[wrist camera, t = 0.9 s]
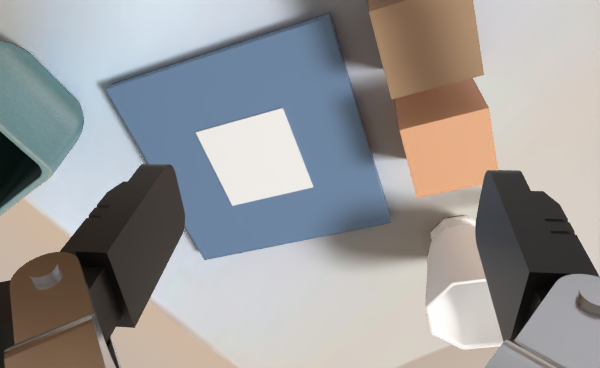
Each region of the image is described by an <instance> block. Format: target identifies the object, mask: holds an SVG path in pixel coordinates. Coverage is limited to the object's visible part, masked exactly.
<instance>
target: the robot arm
mask: <svg viewBox="0 0 600 368" xmlns="http://www.w3.org/2000/svg"><path fill="white" fill-rule="evenodd" d="M184 226H185V212H184V207H183V203H182V199H181V194H180V190H179V186H178V182H177V177H176V173H175V170H174V168H173V166H172V165H170V164H142V165H141V166H140V167H139V168H138V169H137V170H136V172H135V173H134V174H133V176H132V177H131V178H130V180H129V181H128V182H122V183H121V184H119V185H118V186H116V187H115V188H113V189H112V190H110V191H109V192H107V193H106V195H105V196H104V197H103V198H102V200H101V201H100V202H99V203H98V205H97V208H94V210H93V211H92V212H91V213H90V215H89V218H86V220H85V221H84V222H83V223H82V225H81V226H80V227H79V228H78V230H77V231H76V232H75V233H74V235H73V236H72V237H71V238H70V240H69V241H68V242H67V243H66V245H65V246H64V247H63V248H62V249H61V251H60V252H54V253H48V254H45V255H42V256H39V257H37V258H35V259H33V260H31V261H29V262H27V263H26V264H25V265H23V266H22V267H21V268H19V269H18V270H17V271H16V273H15V274H14V275H13V277H12V278H11V280H10V281H5V282H0V368H121V366H120V363H119V360H118V356H117V353H116V350H115V346H114V343H113V341H112V339H111V334H112V333H113V331H114V329H115V327H116V326H118V327H133V328H135V326H136V324H137V322H138V320H139V318H140V316H141V314H142V312H143V310H144V308H145V306H146V304H147V302H148V300H149V298H150V297H151V295H152V293H153V291H154V289H155V287H156V285H157V283H158V281H159V279H160V277H161V275H162V273H163V271H164V269H165V267H166V265H167V263H168V261H169V259H170V257H171V255H172V253H173V251H174V249H175V247H176V245H177V243H178V241H179V239H180V237H181V236H182V233H183V230H184ZM475 236H476V244H477V248H478V252H479V256H480V259H481V263H482V266H483V270H484V274H485V277H486V281H487V284H488V288H489V292H490V295H491V299H492V302H493V306H494V310H495V313H496V317H497V320H498V324H499V328H500V331H501V335H502V338H503V343H502V344H501V346H500V347H499V348H498V350H497V351H496V353H495V354H494V355H493V357H492V358H491V359H490V361H489V362H488V363H487V365H486V366H485V368H600V277H599V275H598V273H597V271H596V270H595V268H594V266H593V264H592V262H591V260H590V259H589V257H588V255H587V253H586V251H585V250H584V248H583V246H582V244H581V242H580V241H579V239H578V237H577V235H575V234H574V230H573V228H572V226H571V224H570V223H569V222H568V219H567V217H566V215H565V214H564V212H563V210H562V208H561V206H560V205H559V204H558V203H557V202H556V201H554V200H553V199H552V198H551V197H549V196H548V195H547V194H546V193H544V192H543V191H531V190H530V188H529V186H528V184H527V182H526V180H525V178H524V176H523V174H522V172H521V171H511V170H487V171H486V173H485V176H484V180H483V185H482V191H481V196H480V202H479V207H478V212H477V218H476V226H475Z"/></svg>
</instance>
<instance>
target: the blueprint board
mask: <svg viewBox="0 0 600 368" xmlns="http://www.w3.org/2000/svg"><path fill="white" fill-rule="evenodd" d="M106 91H107V93H108V95H109V97H110V98H111V100H112V102H113V103H114V105H115V107H116V109H117V110H118V112H119V114H120V115H121V117H122V119H123V121H124V122H125V124H126V126H127V128H128V129H129V131H130V133H131V134H132V136H133V138H134V140H135V141H136V143H137V145H138V146H139V148H140V150H141V152H142V153H143V155H144V157H145V158H146V160H147V162H148V164H170V165H172V166H173V168H174V170H175V173H176V177H177V182H178V186H179V190H180V194H181V199H182V203H183V207H184V212H185V227H186V229H187V231H188V232H189V234H190V236H191V238H192V239H193V241H194V243H195V245H196V246H197V248H198V250H199V251H200V253H201V255H202V257H203V258H204V260H207V259H212V258H217V257H222V256H227V255H232V254H237V253H242V252H247V251H252V250H257V249H262V248H267V247H272V246H277V245H282V244H287V243H292V242H297V241H302V240H307V239H312V238H317V237H322V236H327V235H332V234H337V233H342V232H347V231H352V230H357V229H362V228H367V227H372V226H377V225H382V224H387V223H391V218H390V213H389V209H388V206H387V202H386V199H385V196H384V192H383V189H382V186H381V182H380V179H379V176H378V172H377V169H376V166H375V162H374V159H373V156H372V152H371V149H370V146H369V142H368V139H367V136H366V132H365V129H364V126H363V122H362V119H361V116H360V112H359V109H358V106H357V102H356V99H355V96H354V92H353V89H352V85H351V82H350V79H349V75H348V72H347V69H346V65H345V62H344V59H343V55H342V52H341V49H340V45H339V42H338V39H337V35H336V32H335V29H334V25H333V22H332V19H331V15H330V13H329V14H325V15H322V16H319V17H316V18H313V19H310V20H307V21H304V22H301V23H298V24H295V25H292V26H289V27H286V28H283V29H280V30H277V31H273V32H270V33H267V34H264V35H261V36H258V37H255V38H252V39H249V40H246V41H243V42H240V43H237V44H234V45H231V46H228V47H224V48H221V49H218V50H215V51H212V52H209V53H206V54H203V55H200V56H197V57H194V58H191V59H188V60H185V61H182V62H179V63H176V64H172V65H169V66H166V67H163V68H160V69H157V70H154V71H151V72H148V73H145V74H142V75H139V76H136V77H133V78H130V79H127V80H123V81H120V82H117V83H114V84H112V85H110V86H109V87H108V88H107V89H106Z"/></svg>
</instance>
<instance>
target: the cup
mask: <svg viewBox="0 0 600 368" xmlns="http://www.w3.org/2000/svg"><path fill="white" fill-rule="evenodd" d="M475 226H476V220H474V219H472V218H470V217H469V216H467V215H465V216H459V217H452V218H446V219H443V220H442V221H441V222H440V223H439V224H438V225H437V226H436V227H435V229H434V230H433V231H432V232H431V233H430V234H431V240H432V242H431V245H430V249H429V254H428V259H427V284H426V304H425V308H426V313H427V317H428V322H429V327H430V332H431V335H434V336H436V337H438V338H440V339H442V340H444V341H446V342H448V343H450V344H452V345H454V346H456V347H458V348H461V349H474V348H485V347H496V346H501V344H502V343H503V338H502V335H501V331H500V328H499V324H498V320H497V317H496V313H495V310H494V306H493V302H492V299H491V295H490V292H489V288H488V284H487V281H486V277H485V274H484V270H483V266H482V263H481V259H480V256H479V252H478V248H477V244H476V236H475Z"/></svg>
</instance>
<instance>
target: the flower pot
mask: <svg viewBox="0 0 600 368" xmlns="http://www.w3.org/2000/svg"><path fill="white" fill-rule="evenodd" d="M83 124H84V116H83V111H82V108H81V106H80V103H79V102H78V100H77V99H76V98H75V97H74V96H73V95H72V94H71V93H70V92H69V91H68V90H67V89H66V88H65V87H64V86H63V85H61V84H60V83H59V82H58V81H57V80H56V79H55V78H54V77H53V76H52V75H51V74H50V73H49V72H48V71H47V70H46V69H45V68H44V67H43V66H42V65H41V64H40V63H39V62H38V61H37V60H36V59H35V58H34V57H33V56H32V55H31V54H30V53H29V52H27V51H26V50H24V49H22V48H20V47H18V46H16V45H13V44H11V43H8V42H5V41H1V40H0V216H1V215H2V214H3V213H5V212H6V211H7V210H8V209H10V208H11V207H12V206H14V205H15V204H16V203H17V202H19V201H20V200H21V199H22V198H24V197H25V196H26V195H28V194H29V193H30V192H31V191H33V190H34V189H35V188H37V187H38V186H40V185H41V184H42V183H44V182H45V181H47V180H48V179H49V178H50V177H51V176H52V174H53V173H54V172H55V170H56V169H57V168H58V166H59V165H60V164H61V162H62V161H63V160H64V158H65V157H66V155H67V154H68V153H69V151H70V150H71V149H72V147H73V146H74V144H75V143H76V142H77V140H78V138H79V137H80V134H81V132H82V129H83Z"/></svg>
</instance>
